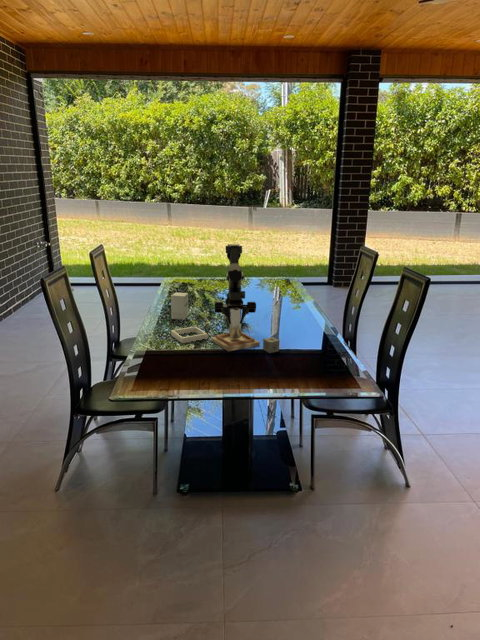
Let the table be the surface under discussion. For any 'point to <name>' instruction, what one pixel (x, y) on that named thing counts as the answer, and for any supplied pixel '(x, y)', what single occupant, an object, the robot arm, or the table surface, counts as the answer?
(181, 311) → the supplement box
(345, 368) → the table surface
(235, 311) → the disc
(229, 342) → the tray
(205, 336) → the frame
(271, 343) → the dice cube
